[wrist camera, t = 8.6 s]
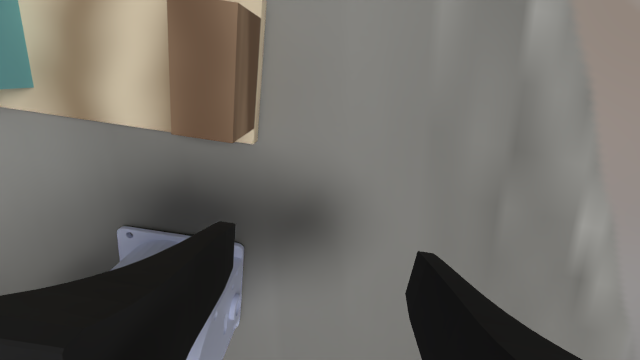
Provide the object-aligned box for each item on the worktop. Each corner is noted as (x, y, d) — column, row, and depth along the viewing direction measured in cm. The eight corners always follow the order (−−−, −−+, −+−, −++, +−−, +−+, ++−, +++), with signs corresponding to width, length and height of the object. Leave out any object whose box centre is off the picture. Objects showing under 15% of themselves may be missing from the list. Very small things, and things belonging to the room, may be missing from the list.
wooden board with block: (266, 1, 17) (239, -26, 12) (257, 140, 20) (231, 162, 15) (-85, -50, 17) (-247, -97, 12) (-45, 96, 20) (-165, 103, 15)
